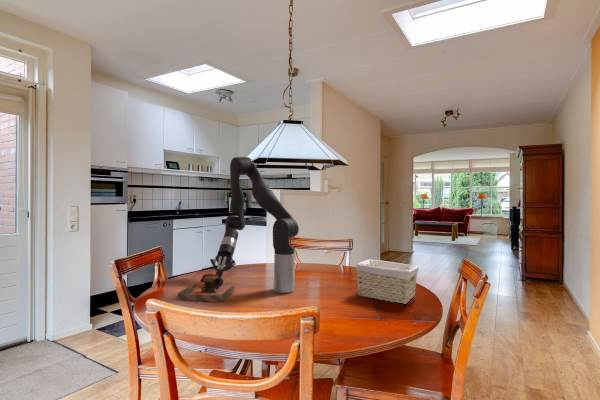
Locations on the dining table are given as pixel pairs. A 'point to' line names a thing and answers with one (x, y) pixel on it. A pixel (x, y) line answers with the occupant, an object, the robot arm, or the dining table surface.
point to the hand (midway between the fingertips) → (218, 277)
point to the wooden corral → (203, 295)
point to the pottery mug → (211, 282)
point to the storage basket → (386, 280)
